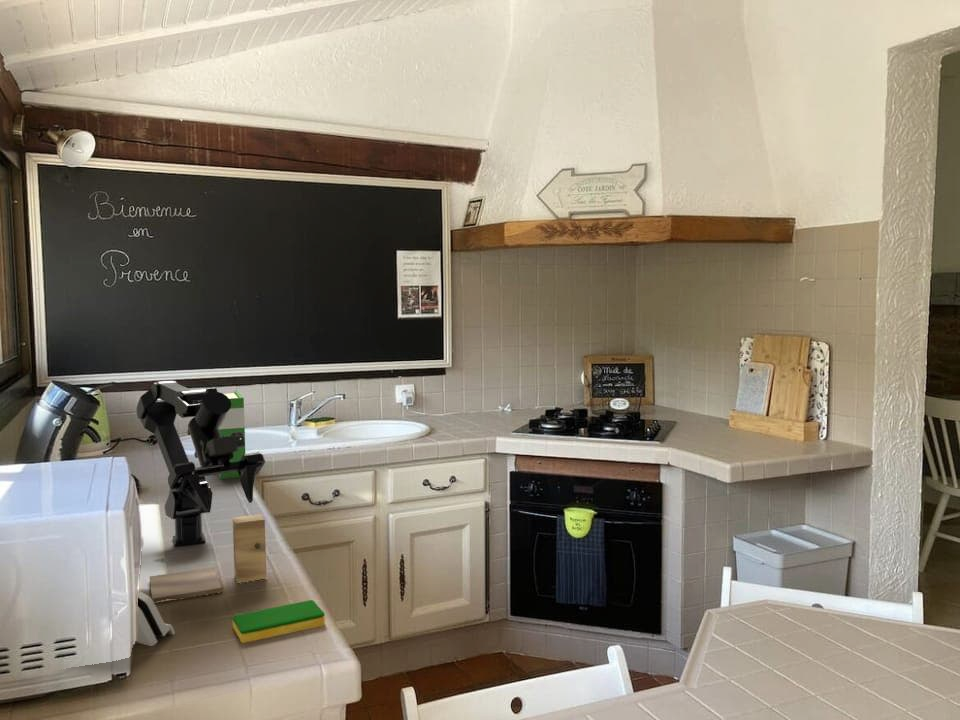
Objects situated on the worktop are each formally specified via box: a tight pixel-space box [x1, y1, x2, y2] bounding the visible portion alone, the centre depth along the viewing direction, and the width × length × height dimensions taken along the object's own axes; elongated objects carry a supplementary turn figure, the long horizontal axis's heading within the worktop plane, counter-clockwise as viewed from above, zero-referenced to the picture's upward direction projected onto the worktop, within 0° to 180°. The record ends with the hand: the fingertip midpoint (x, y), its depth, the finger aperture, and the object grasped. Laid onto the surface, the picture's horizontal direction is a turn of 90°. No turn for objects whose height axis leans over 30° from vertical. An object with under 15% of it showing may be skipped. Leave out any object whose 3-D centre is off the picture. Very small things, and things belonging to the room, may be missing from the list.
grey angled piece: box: [137, 590, 176, 647], centre depth 129 cm, size 17×5×10 cm, turn 63°
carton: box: [218, 390, 246, 480], centre depth 243 cm, size 18×7×24 cm, turn 23°
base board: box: [149, 567, 223, 602], centre depth 150 cm, size 12×12×1 cm
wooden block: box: [232, 513, 268, 584], centre depth 154 cm, size 4×6×12 cm
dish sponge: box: [232, 599, 326, 644], centre depth 133 cm, size 7×14×2 cm, turn 119°
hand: (229, 506), depth 158 cm, fingers open, 9 cm apart
